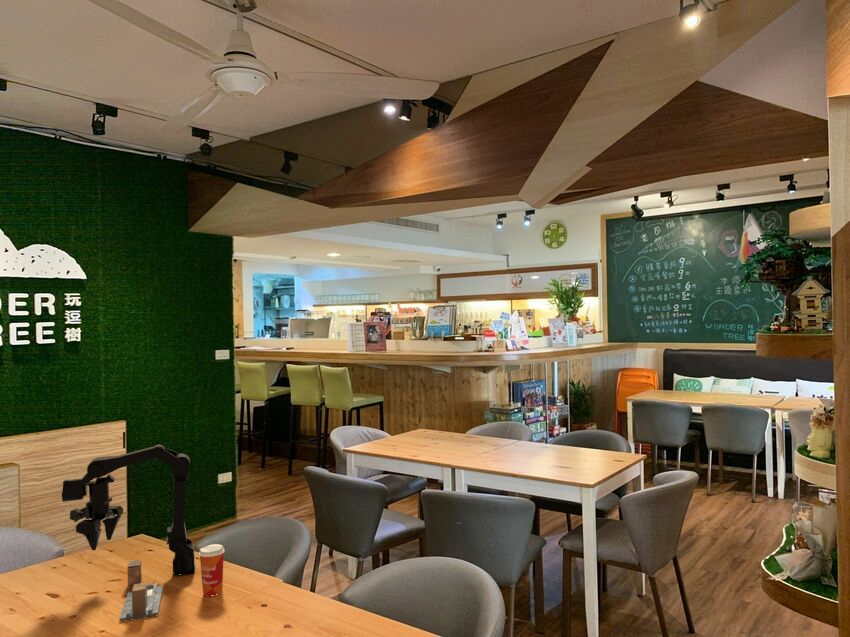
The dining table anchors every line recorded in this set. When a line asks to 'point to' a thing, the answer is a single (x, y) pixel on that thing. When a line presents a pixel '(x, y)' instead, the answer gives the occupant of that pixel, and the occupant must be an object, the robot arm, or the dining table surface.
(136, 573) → the tan wooden block
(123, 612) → the rail
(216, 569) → the paper cup
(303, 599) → the dining table surface
